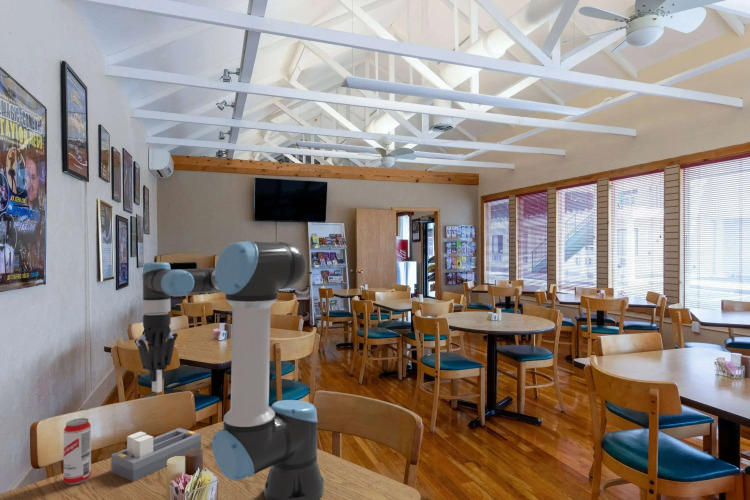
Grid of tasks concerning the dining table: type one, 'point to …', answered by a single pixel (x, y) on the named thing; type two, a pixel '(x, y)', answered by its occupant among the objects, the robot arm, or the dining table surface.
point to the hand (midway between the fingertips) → (156, 391)
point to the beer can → (77, 451)
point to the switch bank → (155, 454)
